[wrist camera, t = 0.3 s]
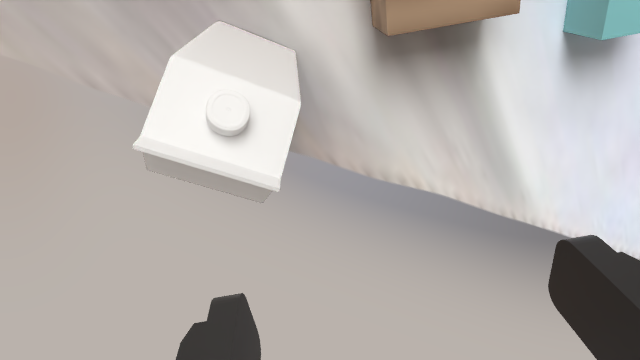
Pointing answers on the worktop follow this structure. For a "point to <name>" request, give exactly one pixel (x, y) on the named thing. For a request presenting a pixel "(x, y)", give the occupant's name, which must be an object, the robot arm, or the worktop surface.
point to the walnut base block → (435, 13)
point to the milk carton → (224, 113)
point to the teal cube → (602, 18)
